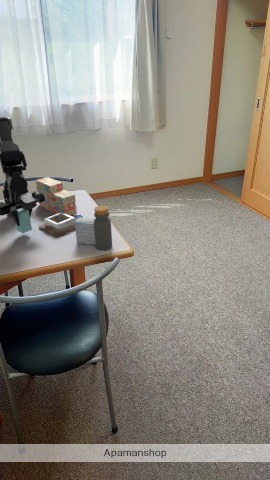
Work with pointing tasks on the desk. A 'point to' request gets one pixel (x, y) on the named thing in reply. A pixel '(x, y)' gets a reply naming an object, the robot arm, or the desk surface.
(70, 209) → the stack of blocks
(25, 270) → the desk surface
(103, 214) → the bottle
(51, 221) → the frame
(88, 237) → the medicine box
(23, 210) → the teal block
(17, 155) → the robot arm
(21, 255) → the desk surface
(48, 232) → the base board
